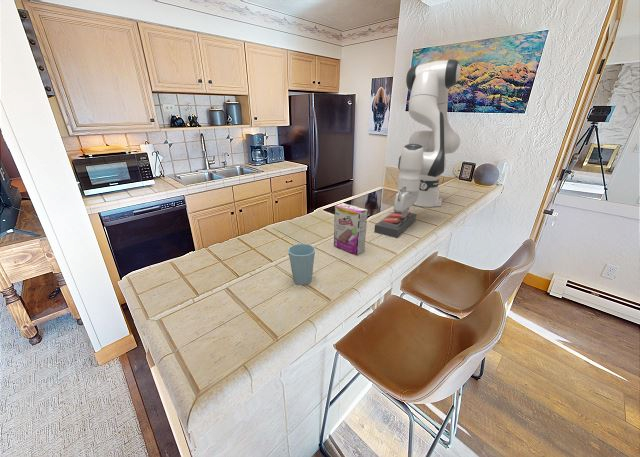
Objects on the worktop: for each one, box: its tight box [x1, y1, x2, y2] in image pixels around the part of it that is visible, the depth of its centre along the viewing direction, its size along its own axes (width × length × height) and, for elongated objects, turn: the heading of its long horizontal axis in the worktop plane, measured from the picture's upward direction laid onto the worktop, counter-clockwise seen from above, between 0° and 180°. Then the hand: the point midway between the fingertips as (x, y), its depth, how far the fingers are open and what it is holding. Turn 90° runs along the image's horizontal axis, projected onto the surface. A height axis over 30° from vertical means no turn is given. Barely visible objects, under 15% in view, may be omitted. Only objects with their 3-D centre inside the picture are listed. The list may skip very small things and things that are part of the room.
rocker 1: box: [383, 218, 399, 223], centre depth 113 cm, size 3×6×1 cm, turn 54°
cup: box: [287, 243, 316, 286], centre depth 78 cm, size 8×8×10 cm
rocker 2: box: [389, 212, 403, 219], centre depth 118 cm, size 3×6×1 cm, turn 54°
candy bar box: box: [333, 202, 369, 256], centre depth 96 cm, size 11×5×16 cm, turn 47°
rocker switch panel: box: [373, 210, 417, 239], centre depth 120 cm, size 28×10×4 cm, turn 144°
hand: (404, 216), depth 116 cm, fingers closed, pressing on rocker 2
